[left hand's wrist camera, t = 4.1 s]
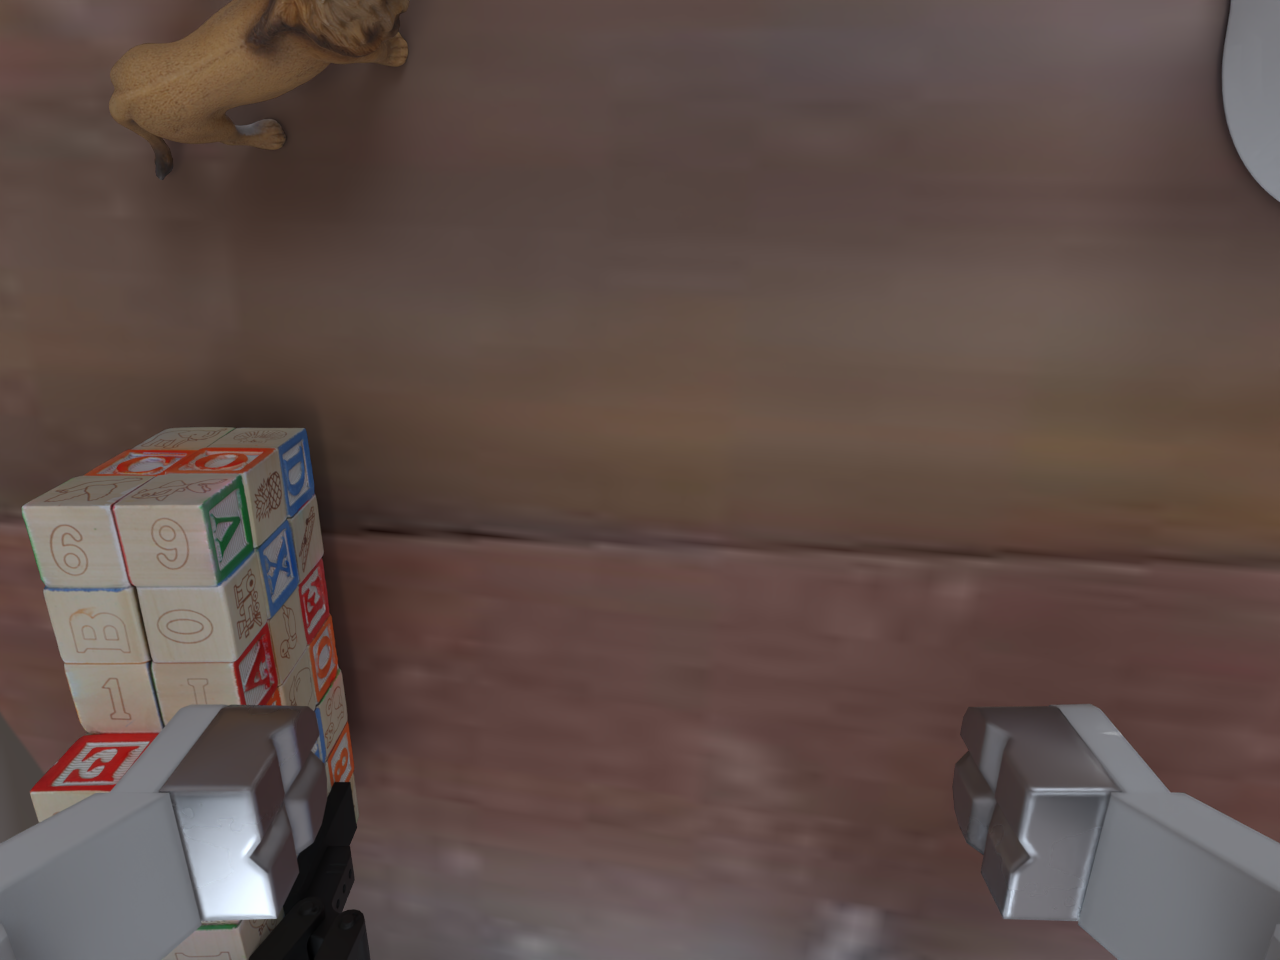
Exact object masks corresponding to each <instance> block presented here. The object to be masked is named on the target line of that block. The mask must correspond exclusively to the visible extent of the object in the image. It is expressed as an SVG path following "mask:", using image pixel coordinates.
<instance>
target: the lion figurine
mask: <svg viewBox="0 0 1280 960" xmlns="http://www.w3.org/2000/svg"><path fill="white" fill-rule="evenodd" d="M408 6H409V0H233V1H231V2H230V3H228V4H227V5H226V6H224V7H223V8H222V9H220V10H219V11H218V12H216V13H215V14H214V15H213V16H212V17H211V18H210V19H209V20H207V21H206V22H205V23H204V24H203V25H202V26H200V27H199V28H198V29H197V30H196V31H194V32H193V33H191V34H190V35H188V36H186V37H185V38H183V39H181V40H178V41H175V42H171V43H160V44H155V43H147V44H141V45H138V46H135V47H133V48H132V49H130V50H129V51H128V52H126V53H125V54H124V55H123V56H122V57H121V58H120V59H119V60H118V61H117V62H116V64H115V65H114V66H113V67H112V69H111V73H110V77H111V82H112V83H113V85H114V88H115V90H114V93H113V95H112V97H111V99H110V102H109V110H110V113H111V115H112V117H113V119H114V120H115V121H116V122H118V123H119V124H121V125H122V126H124V127H126V128H128V129H130V130H132V131H134V132H135V133H137V134H138V135H140V136H142V137H143V138H145V139H146V140H147V141H148V142H149V143H150V144H151V146H152V148H153V150H154V152H155V164H156V176H157V177H158V178H159V179H160V180H163V179H164V177H165V176H166V175H167V174H168V173H170V172H171V171H172V169H173V158H172V156H171V152H170V149H169V147H168V146H167V144H166V143H165V142H164V140H163V139H162V138H165V139H168V140H172V141H175V142H180V143H187V144H202V143H213V142H221V143H224V144H227V145H248V146H253V147H257V148H261V149H267V150H276V149H279V148H281V147H283V145H284V143H285V140H286V135H285V133H284V131H283V129H282V127H281V125H280V124H279V123H278V122H277V121H275V120H273V119H263V120H260V121H257V122H255V123H252V124H249V125H242V126H236V125H234V123H233V122H232V121H231V120H230V119H229V118H228V117H227V116H226V115H225V113H226V111H227V110H229V109H231V108H234V107H237V106H241V105H247V104H253V103H258V102H262V101H267V100H270V99H273V98H276V97H278V96H281V95H283V94H285V93H287V92H289V91H291V90H293V89H294V88H296V87H298V86H300V85H302V84H304V83H306V82H308V81H309V80H311V79H312V78H314V77H315V76H316V75H318V74H319V73H320V72H322V71H323V70H324V69H325V68H326V67H327V66H328V65H329V64H330V63H334V64H351V63H377V64H382V65H386V66H393V67H398V66H401V65H403V64H404V63H405V62H406V59H407V56H408V46H407V42H406V41H405V40H404V39H403V38H402V36H401V35H400V33H399V32H398V29H399V26H400V20H399V15H400V14H401V13H403V12H406V11H407V8H408ZM161 137H162V138H161Z"/></svg>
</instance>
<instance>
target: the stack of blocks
mask: <svg viewBox="0 0 1280 960" xmlns="http://www.w3.org/2000/svg"><path fill="white" fill-rule="evenodd" d="M22 516H23V518H24V521H25V524H26V528H27V531H28V535H29V538H30V542H31V545H32V548H33V552H34V556H35V560H36V563H37V566H38V569H39V572H40V576H41V580H42V581H43V582H44V584H45V585H46V586H45V588H44V590H43V592H44V598H45V601H46V604H47V608H48V611H49V615H50V619H51V623H52V626H53V630H54V633H55V636H56V640H57V643H58V647H59V651H60V655H61V658H62V660H63V661H64V662H65V664H64V669H65V675H66V677H67V681H68V685H69V688H70V692H71V695H72V698H73V701H74V704H75V707H76V711H77V714H78V717H79V721H80V723H81V725H82V726H83V728H84V729H85V730H86V731H87V733H86V735H84V736H83V737H81V738H80V739H78V740H77V741H76V742H75V743H74V744H73V745H72V746H71V747H70V748H69V749H68V751H67V752H66V753H65V754H64V755H63V756H62V757H61V758H60V759H59V760H58V761H57V762H56V763H55V764H54V765H53V767H52V768H50V770H49V771H48V772H47V773H46V774H45V775H44V776H43V777H42V778H41V779H40V780H39V781H38V782H37V783H36V784H35V786H34V787H33V788H32V789H31V791H30V795H31V798H32V802H33V805H34V808H35V811H36V814H37V818H38V821H39V823H40V822H42V821H44V820H45V819H47V818H49V817H51V816H53V815H55V814H57V813H59V812H61V811H62V810H64V809H66V808H68V807H70V806H72V805H74V804H76V803H78V802H80V801H81V800H83V799H85V798H87V797H89V796H91V795H93V794H95V793H109V792H110V791H111V790H112V789H113V788H114V786H115V785H116V784H117V783H118V782H119V780H120V779H121V778H122V777H123V776H124V774H125V773H126V772H127V771H128V770H129V769H130V767H131V766H132V765H133V764H134V763H135V761H136V760H137V759H138V758H139V757H140V755H141V754H142V753H143V752H144V751H145V750H146V748H147V747H148V746H149V745H150V744H151V742H152V741H153V740H154V739H155V738H156V737H157V735H158V734H159V733H160V732H161V731H162V729H163V728H164V727H165V726H166V725H167V723H168V722H169V721H170V720H171V719H172V718H173V716H174V715H175V714H176V713H177V712H178V711H179V709H180V708H183V707H186V706H188V705H191V704H225V705H276V706H309V707H310V708H311V709H312V710H313V711H314V712H315V713H316V718H317V723H318V728H319V733H320V735H319V737H318V739H317V741H316V743H315V744H314V746H313V748H312V750H311V751H312V752H313V753H314V754H315V755H316V756H317V757H318V758H319V759H320V760H321V761H322V762H323V763H324V764H325V769H326V776H327V797H328V795H329V793H330V791H331V788H332V786H333V784H334V782H351V789H352V796H353V803H354V810H355V817H356V823H357V821H358V817H359V811H358V804H357V796H356V789H355V781H354V774H353V772H354V761H353V753H352V746H351V739H350V732H349V724H348V721H347V707H346V700H345V692H344V685H343V678H342V672H341V670H340V668H339V667H338V657H337V653H336V647H335V638H334V631H333V623H332V616H331V615H330V613H329V604H328V594H327V587H326V581H325V573H324V567H323V560H322V558H321V557H322V556H323V554H324V550H323V543H322V536H321V529H320V521H319V513H318V505H317V499H316V495H315V493H314V480H313V473H312V465H311V460H310V452H309V446H308V437H307V432H306V429H305V428H233V427H187V428H170V429H167V430H164V431H162V432H160V433H158V434H156V435H154V436H153V437H151V438H149V439H147V440H146V441H144V442H143V443H141V444H139V445H137V446H136V447H134V448H133V449H131V450H130V449H129V450H126V451H124V452H122V453H121V454H119V455H117V456H115V457H114V458H112V459H110V460H108V461H107V462H105V463H103V464H101V465H99V466H98V467H96V468H94V469H93V470H91V471H90V472H88V473H87V474H85V475H84V476H79V477H75V478H72V479H70V480H69V481H67V482H65V483H63V484H61V485H60V486H58V487H56V488H54V489H52V490H50V491H48V492H47V493H45V494H43V495H41V496H39V497H37V498H35V499H34V500H32V501H30V502H28V503H26V504H25V505H24V506H23V507H22ZM298 855H299V854H297V855H296V857H298ZM284 917H285V915H284V910H283V907H282V909H281V911H280V913H279V915H278V917H277V919H252V920H218V921H201V923H202V925H201V926H200V927H199V928H198V929H197V930H196V931H194V932H193V933H192V934H191V935H190V936H189V937H187V938H186V939H185V940H184V941H183V942H182V943H181V944H179V945H178V946H177V947H176V948H175V949H174V950H172V951H171V952H170V953H169V954H168V955H167V956H166V957H164V958H163V959H162V960H248V959H249V957H250V956H251V955H252V954H253V953H254V951H255V950H256V949H257V948H258V947H259V946H260V944H261V943H262V942H263V941H264V940H265V939H266V938H267V936H268V935H269V934H270V933H271V932H272V931H273V929H274V928H275V927H276V926H277V925H278V924H279V923H280V921H281V920H282V919H283V918H284Z"/></svg>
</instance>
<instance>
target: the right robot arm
mask: <svg viewBox="0 0 1280 960" xmlns="http://www.w3.org/2000/svg"><path fill="white" fill-rule="evenodd" d="M356 829H357V824H356V817H355V810H354V803H353V796H352V789H351V782H334V784H333V786H332V788H331V791H330V793H329V795H328V797H327V802H326V807H325V811H324V816H323V821H322V825H321V827H320V829H319V831H318V833H317V836H316V838H315V840H314V842H313V843H312V844H311V845H310V846H308V847H307V848H306V849H304V850H303V851H301V852H300V853H299V855H298V857H297V862H298V868H299V874H298V876H297V878H296V880H295V882H294V884H293V886H292V888H291V890H290V892H289V894H288V897H287V899H286V901H285V903H284V905H283V910H284V915H285V917H284V918H283V919H282V920H281V921H280V923H279V924H278V925H277V926H276V927H275V928H274V929H273V931H272V932H271V933H270V934H269V935H268V936H267V938H266V939H265V940H264V941H263V942H262V943H261V944H260V946H259V947H258V948H257V949H256V950H255V951H254V953H253V954H252V955H251V956H250V957H249V959H248V960H370V953H369V947H368V940H367V933H366V926H365V919H364V916H363V913H361V912H360V911H358V910H347V911H344V912H342V910H343V908H344V905H345V903H346V900H347V897H348V895H349V893H350V890H351V888H352V885H353V883H354V871H353V864H352V858H351V851H350V846H349V845H350V843H351V841H352V838H353V836H354V834H355V831H356Z"/></svg>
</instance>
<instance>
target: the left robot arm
mask: <svg viewBox="0 0 1280 960" xmlns="http://www.w3.org/2000/svg"><path fill="white" fill-rule="evenodd" d="M1222 94H1223V104H1224V110H1225V116H1226V121H1227V124H1228V128H1229V132H1230V135H1231V137H1232V140H1233V143H1234V146H1235V148H1236V150H1237V152H1238V154H1239V156H1240V158H1241V160H1242V161H1243V163H1244V165H1245V167H1246V168H1247V169H1248V171H1249V172H1250V174H1251V175H1252V176H1253V178H1254V179H1255V180H1256V181H1257V182H1258V183H1259V185H1260V186H1261V187H1262V188H1263V189H1264V190H1266V191H1267V192H1268V193H1269V194H1270V195H1271V196H1272V197H1274V198H1275V199H1276V200H1277V201H1279V202H1280V0H1231V5H1230V13H1229V19H1228V25H1227V31H1226V37H1225V44H1224V51H1223V61H1222ZM319 735H320V733H319V728H318V723H317V718H316V713H315V712H314V711H313V710H312V709H311V708H310V707H309V706H276V705H225V704H191V705H188V706H186V707H183V708H180V709H179V711H178V712H177V713H176V714H175V715H174V716H173V718H172V719H171V720H170V721H169V722H168V723H167V725H166V726H165V727H164V728H163V729H162V731H161V732H160V733H159V734H158V735H157V737H156V738H155V739H154V740H153V741H152V742H151V744H150V745H149V746H148V747H147V748H146V750H145V751H144V752H143V753H142V754H141V755H140V757H139V758H138V759H137V760H136V761H135V763H134V764H133V765H132V766H131V767H130V769H129V770H128V771H127V772H126V773H125V774H124V776H123V777H122V778H121V779H120V780H119V782H118V783H117V784H116V785H115V786H114V788H113V789H112V790H111V791H110V792H109V793H95V794H93V795H91V796H89V797H87V798H85V799H83V800H81V801H80V802H78V803H76V804H74V805H72V806H70V807H68V808H66V809H64V810H62V811H61V812H59V813H57V814H55V815H53V816H51V817H49V818H47V819H45V820H44V821H42V822H40V823H38V824H36V825H34V826H32V827H30V828H28V829H27V830H25V831H23V832H21V833H19V834H17V835H15V836H13V837H12V838H9V839H8V840H6V841H4V842H2V843H0V960H162V959H163V958H164V957H166V956H167V955H168V954H169V953H170V952H171V951H172V950H174V949H175V948H176V947H177V946H178V945H179V944H181V943H182V942H183V941H184V940H185V939H186V938H187V937H189V936H190V935H191V934H192V933H193V932H194V931H196V930H197V929H198V928H199V927H200V926H201V925H202V923H201V921H218V920H252V919H277V917H278V915H279V913H280V911H281V909H282V907H283V905H284V903H285V901H286V899H287V897H288V894H289V892H290V890H291V888H292V886H293V884H294V882H295V880H296V878H297V876H298V874H299V868H298V862H297V857H296V855H297V854H299V853H300V852H301V851H303V850H304V849H306V848H307V847H308V846H310V845H311V844H312V843H313V842H314V840H315V838H316V836H317V833H318V831H319V829H320V827H321V825H322V821H323V816H324V811H325V807H326V802H327V776H326V769H325V764H324V763H323V762H322V761H321V760H320V759H319V758H318V757H317V756H316V755H315V754H314V753H313V752H312V751H311V750H312V748H313V746H314V744H315V743H316V741H317V739H318V737H319ZM960 735H961V737H962V739H963V741H964V743H965V744H966V746H967V748H968V750H969V751H968V752H967V753H966V754H965V755H964V756H963V757H962V758H961V759H960V760H959V761H958V762H957V763H956V764H955V770H954V778H953V786H952V787H953V799H954V810H955V813H956V817H957V820H958V824H959V827H960V829H961V831H962V834H963V836H964V838H965V840H966V842H967V843H968V844H969V845H970V846H972V847H973V848H974V849H976V850H977V851H979V852H980V853H981V854H983V855H984V857H983V862H982V868H981V874H982V876H983V878H984V880H985V882H986V884H987V886H988V888H989V890H990V892H991V894H992V896H993V899H994V901H995V903H996V905H997V907H998V909H999V911H1000V913H1001V915H1002V917H1003V919H1026V920H1061V921H1079V923H1078V925H1079V926H1080V927H1081V928H1083V929H1084V930H1085V931H1086V932H1087V933H1088V934H1090V935H1091V936H1092V937H1093V938H1094V939H1095V940H1096V941H1098V942H1099V943H1100V944H1101V945H1102V946H1103V947H1104V948H1106V949H1107V950H1108V951H1109V952H1110V953H1111V954H1113V955H1114V956H1115V957H1116V958H1117V959H1118V960H1280V843H1278V842H1276V841H1274V840H1272V839H1270V838H1268V837H1267V836H1265V835H1263V834H1261V833H1259V832H1257V831H1255V830H1253V829H1251V828H1250V827H1248V826H1246V825H1244V824H1242V823H1240V822H1238V821H1236V820H1234V819H1233V818H1231V817H1229V816H1227V815H1225V814H1223V813H1221V812H1219V811H1217V810H1216V809H1214V808H1212V807H1210V806H1208V805H1206V804H1204V803H1202V802H1200V801H1199V800H1197V799H1195V798H1193V797H1191V796H1189V795H1187V794H1185V793H1171V792H1170V791H1169V790H1168V789H1167V788H1166V786H1165V785H1164V784H1163V783H1162V782H1161V780H1160V779H1159V778H1158V777H1157V776H1156V775H1155V773H1154V772H1153V771H1152V770H1151V769H1150V767H1149V766H1148V765H1147V764H1146V763H1145V762H1144V760H1143V759H1142V758H1141V757H1140V756H1139V754H1138V753H1137V752H1136V751H1135V750H1134V748H1133V747H1132V746H1131V745H1130V744H1129V743H1128V741H1127V740H1126V739H1125V738H1124V737H1123V735H1122V734H1121V733H1120V732H1119V731H1118V730H1117V728H1116V727H1115V726H1114V725H1113V724H1112V722H1111V721H1110V720H1109V719H1108V718H1107V717H1106V715H1105V714H1104V713H1103V712H1102V711H1101V709H1099V708H1097V707H1095V706H1093V705H1091V704H1070V705H1049V706H1031V707H968V709H967V711H966V713H965V715H964V717H963V721H962V727H961V733H960Z"/></svg>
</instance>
